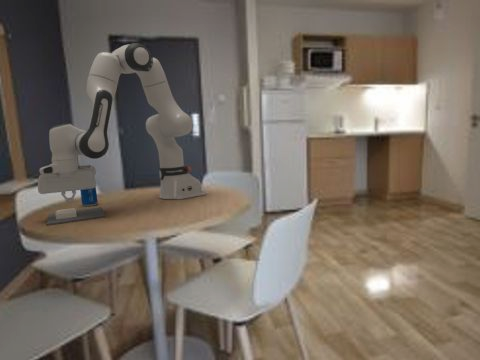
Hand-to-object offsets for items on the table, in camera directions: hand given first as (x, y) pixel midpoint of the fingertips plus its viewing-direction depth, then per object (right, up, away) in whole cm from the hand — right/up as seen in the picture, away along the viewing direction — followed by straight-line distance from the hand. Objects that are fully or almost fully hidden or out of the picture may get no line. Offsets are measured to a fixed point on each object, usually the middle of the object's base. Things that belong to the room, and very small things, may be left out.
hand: (69, 202), depth 140 cm
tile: (+2, -4, +1) cm, 4 cm away
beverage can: (-1, -3, +22) cm, 22 cm away
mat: (+2, -6, +2) cm, 6 cm away
